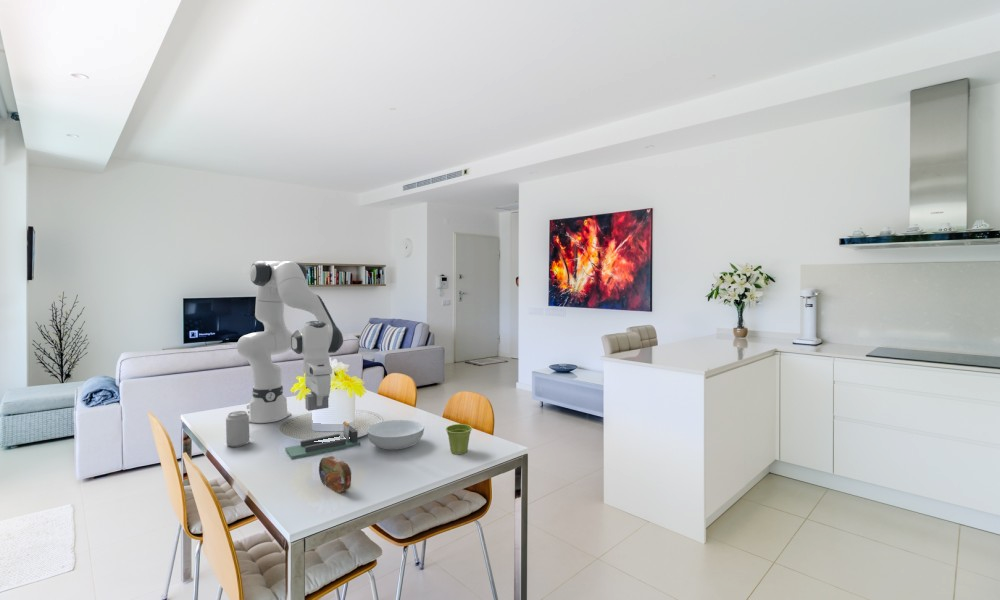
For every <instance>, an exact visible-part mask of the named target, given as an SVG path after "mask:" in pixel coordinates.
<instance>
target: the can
mask: <svg viewBox="0 0 1000 600" xmlns="http://www.w3.org/2000/svg"><path fill="white" fill-rule="evenodd" d="M225 426H226V429H225V434H226V441H225V442H226V445H227V446H229V447H230V448H236V447H237V448H238V447H243V446H245V445H247V444H248V443H249V442H250V422H249V415H248V414H247V411H246V410H237V411H232V412H229V413H228V414H227V416H226V418H225Z"/></svg>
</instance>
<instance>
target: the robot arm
mask: <svg viewBox="0 0 1000 600" xmlns="http://www.w3.org/2000/svg"><path fill="white" fill-rule="evenodd" d="M249 276H250V281H251V283H253V284H254V286H257V290H256V297H255V309H254V311H255V313H254V317H255V318H256V320H257V321H259V322H260V323H262V325H263V327H264V331H256V332H251V333H248V334H244V335H242V336H241V337H240V338H238V341H237V342H236V349H237V352H238V354H239V355H240V356H241V357H242V358H243V359H245V360H246V361H247V362H248V364H249V365H250V368H251V370H252V375H253V376H252V379H253V387H252V391H251V392H252V393H251V394H252V398H251V400H250V401H249V403H247V404H246V410H247V411H246V412H247V414H248V415H249V423H254V424H264V423H265V424H266V423H275V422H278V421H281V420H284V419H285V418H287V417H290V416H291V415H292V412H291V411H288V402H287V397H286V396H284V394H283V393H284V387H283V384H282V369H281V367H280V365H277V364H276V363H274V362H273V359H272V356H275V355H280V354H281V355H282V354H284V353H287V352H289V351H291V350H292V351H293V352H294V353H296V354H297V355H303V365H302V366H303V367H302V369H303V372H304V373H305V376H304V384H305V388H307V389H309V391H310V394H314V393H315V394H316V397H317V400H316V405H317V406H321V405H322V400H323V397H324V396H329V397H330V392H331V382H332V381H331V380H332V377H331V374H333V368H332V366H331V362H330V354H334V353H337V352H338V351H339V350H340V349H341V348H342V346H343V344H344V336H343V334H342V331H341V330H340V328H338V326H337V325H336V322H335V321H334V319H333V318H332V315H331V314H330V311H329V309H328V308H327V307H326V305H325V302H324V301H323V299H322V298H321V296H320V295H318V294H317V293H315V292H314V291H313V290H312V289H311V288H310V286H309V285H308V283H307V279H308V271H307V268H306V266H305V265H304V264H303V263H301V262H296V261H290V260H289V261H287V260H285V261H284V260H258V261H255V262H253V263H252V264H251V267H250V270H249ZM285 305H286V306H287V307H290V308H292V309H298V310H302V311H305V312H309V313H310V314H312V315H314V317H315V318H316V320H310V321H307V322H305V323H304V326H303V327H302V328H300V329H297V330H295V331H294V332H293V333H292V331H290V330H289V329H288V327H287V325H286V324H285V320H284V319H285V318H284V309H285V308H284V307H285Z"/></svg>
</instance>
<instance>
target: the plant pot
mask: <svg viewBox="0 0 1000 600" xmlns="http://www.w3.org/2000/svg"><path fill="white" fill-rule="evenodd" d="M472 430H473V427H472V426H471V425H470V424H469V425H468V424H464V423H463V424H461V423H459V424H458V423H456V424H452V425H448V426H447V427H445V431H446V433H447V436H448V442H449V449H450V453H451V454H454V455H460V454H462V455H463V454H466V453H468V449H469V442H470V435H471V432H472Z"/></svg>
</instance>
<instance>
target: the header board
mask: <svg viewBox="0 0 1000 600" xmlns="http://www.w3.org/2000/svg"><path fill="white" fill-rule="evenodd" d="M342 424H343V426H342V428H343V431H342V432H343V436H344V437H345V438H346V439H340V440H335V441H330V442H323V443H322V442H314V441H318V440H323V439H328V438H334V437H339V436H340V437H341V434H340V433H335V434H331V435H324V436H320V437H315V438H310V439H309V438H308V439H305V440H303V439H302V440H300V444H298V445H292V446H287V447H284V449H285V450H284V451H285V452H286V454H287V455H288V457H289V458H290V459H291V460H295V459H301V458H304V457H310V456H314V455H319V454H323V453H329V452H333V451H338V450H343V449H347V448H352V447H357V446H360V445H361V442H360V441H359V437H358V433H359V432H358V430H357V429H355V428H354V427H353V426H352V425H350V424H349V423H348V422H347V421H343V422H342ZM349 437H350V439H349Z"/></svg>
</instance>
